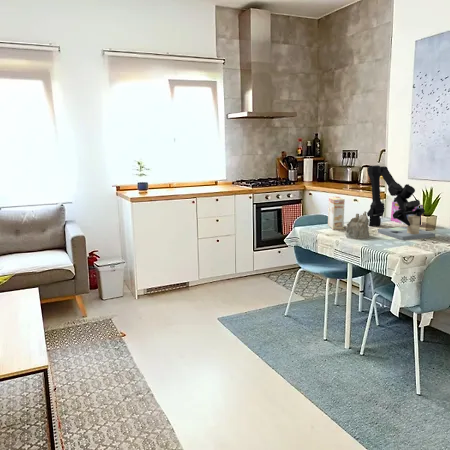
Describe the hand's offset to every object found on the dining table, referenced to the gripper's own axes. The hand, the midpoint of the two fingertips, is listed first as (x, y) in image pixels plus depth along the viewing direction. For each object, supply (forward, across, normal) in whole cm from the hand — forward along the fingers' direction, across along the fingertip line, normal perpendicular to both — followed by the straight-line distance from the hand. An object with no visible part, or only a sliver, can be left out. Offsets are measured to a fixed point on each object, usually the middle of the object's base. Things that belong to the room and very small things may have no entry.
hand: (415, 225), depth 244 cm
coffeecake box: (-24, -27, +34) cm, 50 cm away
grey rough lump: (-6, -29, +17) cm, 34 cm away
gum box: (-21, +25, +31) cm, 45 cm away
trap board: (0, 0, +10) cm, 10 cm away
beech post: (+3, 0, +5) cm, 5 cm away
